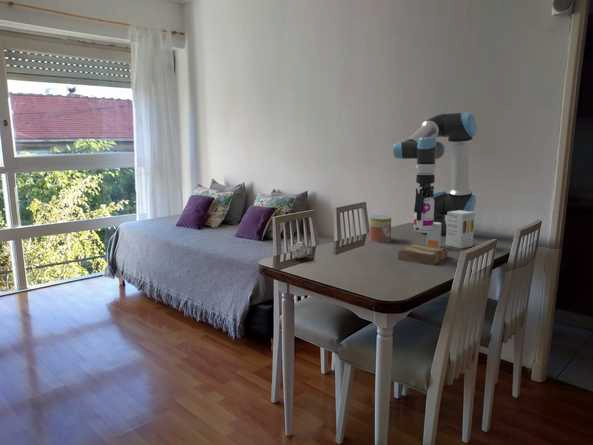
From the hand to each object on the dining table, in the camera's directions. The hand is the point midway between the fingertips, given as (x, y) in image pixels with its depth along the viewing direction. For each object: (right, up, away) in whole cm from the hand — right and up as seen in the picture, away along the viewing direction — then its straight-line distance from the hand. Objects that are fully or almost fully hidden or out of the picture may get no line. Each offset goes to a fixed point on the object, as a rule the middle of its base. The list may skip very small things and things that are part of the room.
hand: (423, 226), depth 197 cm
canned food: (-12, -8, +40) cm, 42 cm away
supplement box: (+24, -10, +24) cm, 36 cm away
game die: (-54, -15, +5) cm, 56 cm away
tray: (0, -14, +3) cm, 14 cm away
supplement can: (0, -2, 0) cm, 2 cm away
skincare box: (+11, -11, +22) cm, 27 cm away
